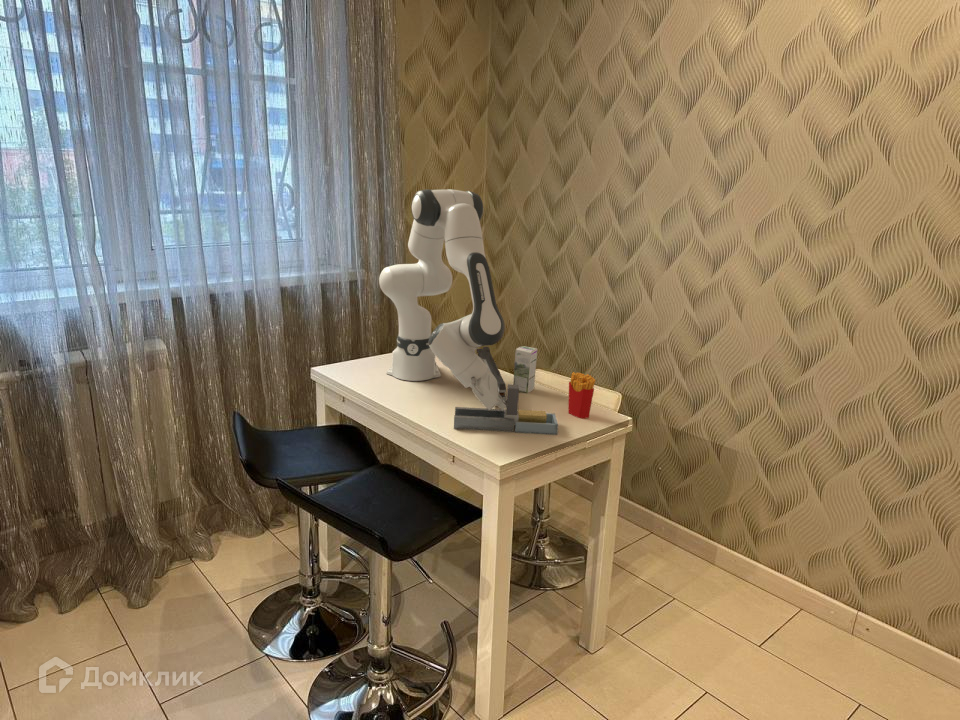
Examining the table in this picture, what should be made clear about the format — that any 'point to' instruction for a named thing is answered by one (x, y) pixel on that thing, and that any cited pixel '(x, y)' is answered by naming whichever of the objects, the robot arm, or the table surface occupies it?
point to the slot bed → (482, 419)
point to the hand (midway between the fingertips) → (504, 407)
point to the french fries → (580, 395)
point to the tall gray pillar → (512, 403)
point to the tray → (539, 426)
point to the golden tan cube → (525, 415)
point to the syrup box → (525, 368)
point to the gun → (493, 370)
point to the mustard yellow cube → (539, 416)
